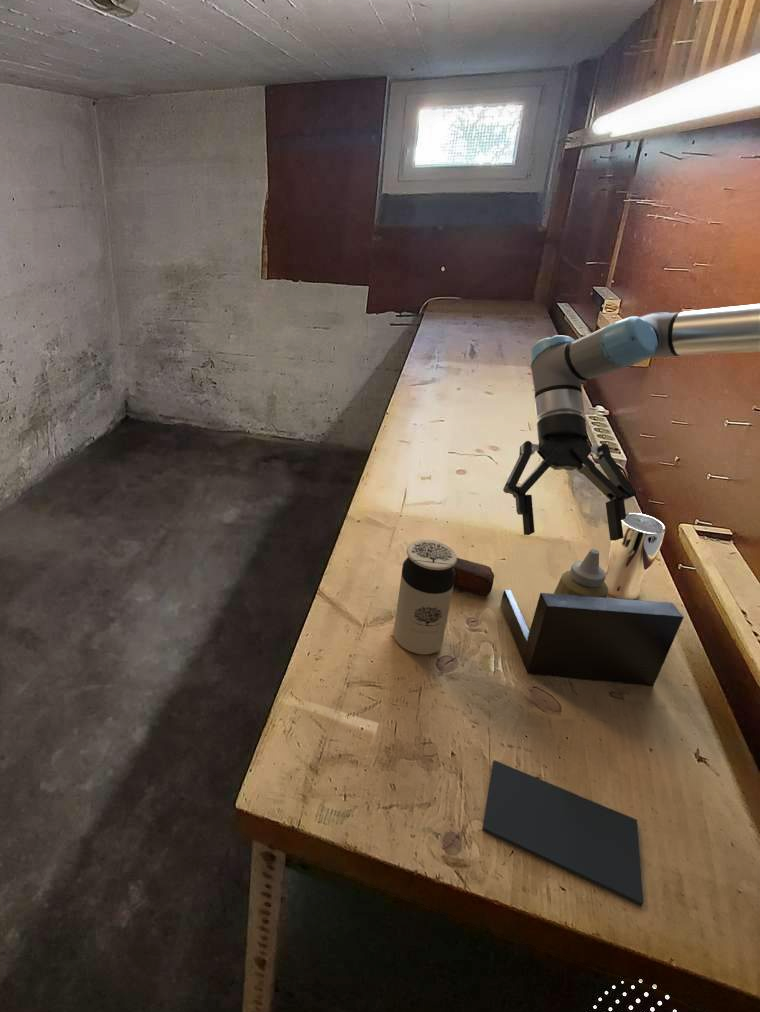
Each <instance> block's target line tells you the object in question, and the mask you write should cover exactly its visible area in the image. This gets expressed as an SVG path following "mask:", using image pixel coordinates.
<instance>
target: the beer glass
mask: <svg viewBox="0 0 760 1012" xmlns="http://www.w3.org/2000/svg"><path fill="white" fill-rule="evenodd" d="M625 513H626V518H625V519H623V520H621V521H622V529H623V537H624V538H622V539H618V540H615V541H614V540H610V545H609V546H610V547H609V555H608V567H607V570H606V571H605V573H606V576H605V580H604V582H605V583H606V585H607V587H608V593H607V595H608V596H611V597H612V598H616V599H629V600H637V598H639V597H640V591H641V583H642V580H643V578H644V576H645V575H646V573H647V572H648V570H649V569H650V567H651V566H652V565H653V563H654V562H655V560H656V558H657V557H658V555H659V552H660V550H661V547H662V544H663V540H664V536H665V532H666V530H667V528H666V525H665V524H664V523H663V521H660V520H659V519H657V518H655V517H654V516H650V515H647V514H644V513H638V512H625Z"/></svg>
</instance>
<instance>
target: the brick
mask: <svg viewBox="0 0 760 1012" xmlns="http://www.w3.org/2000/svg"><path fill="white" fill-rule="evenodd" d="M453 568H454V570H455V573H456V576H455V581H454V586H453V588H456V589H459V590H462V591H466V592H469V593H472V594H476V595H480V596H483V597H487V596H489V594H491V592H492V590H493V585H494V579H495V573H494V572H493V569H492V568H491V567H490V566H488V565H485V564H481V563H478V562H475V561H471V560H468V559H463V558H460V557H457V562H456V563H455V565H454V566H453Z"/></svg>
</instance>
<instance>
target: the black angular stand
mask: <svg viewBox="0 0 760 1012" xmlns="http://www.w3.org/2000/svg"><path fill="white" fill-rule="evenodd" d="M539 593H540V594H539V597H538V600H537V603H536V607H535V611H534V614H533V618H532V621H531V625H530V628H529V627H528V625H527V623H526V619H525V618H524V616H523V614H522V611H521V609H520V608H519V607H520V606H519V605H518V602H517V600H516V598H515V596H514V593H513V591H512V589H504V590H503V593H502V597H501V601H500V605H499V608H500V610H501V612H502V615H503V617H504V620H505V622H506V625H507V627H508V630H509V632H510V635H511V637H512V640H513V642H514V645H515V647H516V649H517V652H518V654H519V657H520V660H521V662H522V664H523V666H524V669H525V672H526V674H527V675H533V676H542V677H554V678H563V679H574V680H585V681H595V682H604V683H612V684H613V683H616V684H624V685H634V686H643V687H644V686H646V687H654V686H655V684H656V683H657V679H658V677H659V675H660V672H661V670H662V668H663V665H664V663H665V661H666V658H667V656H668V654H669V652H670V649H671V647H672V645H673V643H674V641H675V639H676V636H677V634H678V631H679V629H680V627H681V624H682V623H683V620H684V616H683V614H682V613H681V612H680V610H678V608H677V606H676V605H675V604H674V603H673V602H667V601H653V600H642V599H641V600H639V599H634V600H629V599H618V598H615V597H608V596H607V598H603V597H590V596H577V595H563V594H554V593H549V592H539Z"/></svg>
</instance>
